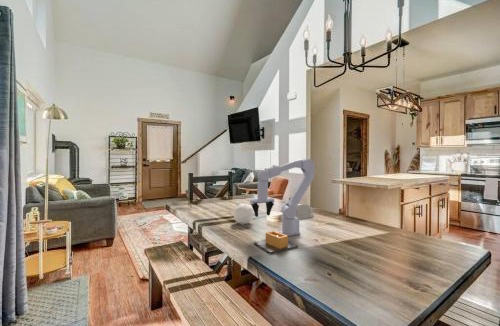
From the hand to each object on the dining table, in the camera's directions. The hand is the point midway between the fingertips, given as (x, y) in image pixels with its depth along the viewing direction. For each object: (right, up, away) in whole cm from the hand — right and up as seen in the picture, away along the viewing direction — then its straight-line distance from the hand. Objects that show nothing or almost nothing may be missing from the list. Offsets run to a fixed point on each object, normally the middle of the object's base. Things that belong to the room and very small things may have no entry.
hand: (262, 215), depth 142 cm
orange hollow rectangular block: (+6, -10, -19) cm, 22 cm away
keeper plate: (+6, -11, -18) cm, 22 cm away
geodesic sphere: (-11, -10, +23) cm, 27 cm away
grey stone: (+30, -9, +37) cm, 48 cm away
